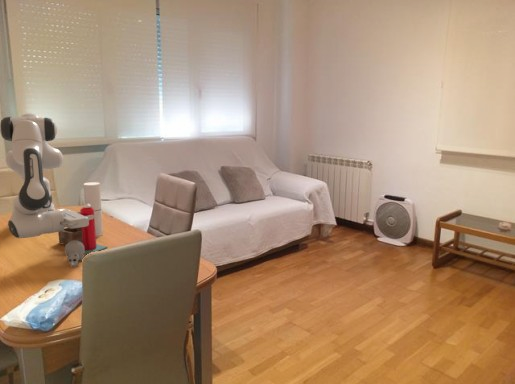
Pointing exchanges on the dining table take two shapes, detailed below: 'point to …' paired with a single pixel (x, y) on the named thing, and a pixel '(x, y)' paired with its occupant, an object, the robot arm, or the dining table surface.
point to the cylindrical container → (94, 204)
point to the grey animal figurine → (74, 252)
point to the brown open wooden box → (70, 235)
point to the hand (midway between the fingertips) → (89, 214)
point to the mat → (99, 247)
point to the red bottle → (88, 229)
